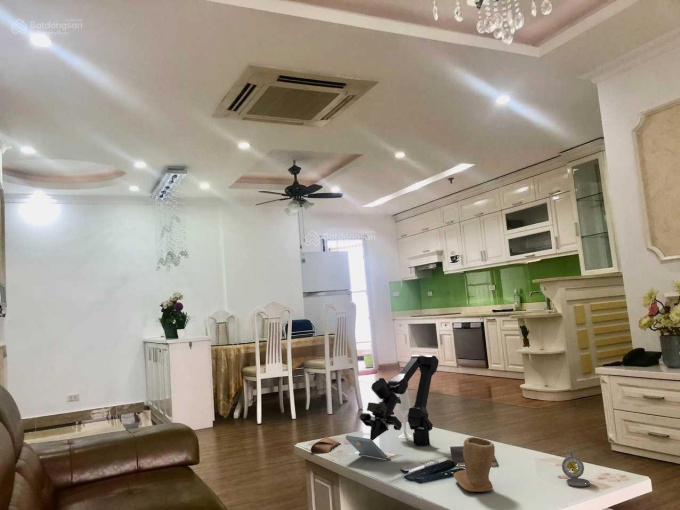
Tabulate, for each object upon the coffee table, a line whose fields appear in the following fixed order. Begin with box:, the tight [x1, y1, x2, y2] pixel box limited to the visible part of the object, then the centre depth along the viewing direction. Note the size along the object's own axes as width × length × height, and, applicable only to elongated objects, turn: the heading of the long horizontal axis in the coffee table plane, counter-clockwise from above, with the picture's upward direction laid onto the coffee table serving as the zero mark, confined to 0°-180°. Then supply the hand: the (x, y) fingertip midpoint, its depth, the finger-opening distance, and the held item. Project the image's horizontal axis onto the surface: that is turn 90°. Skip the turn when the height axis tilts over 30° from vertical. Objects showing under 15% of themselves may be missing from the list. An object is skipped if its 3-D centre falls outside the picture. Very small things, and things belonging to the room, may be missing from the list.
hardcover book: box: [449, 445, 499, 467], centre depth 197 cm, size 16×23×2 cm
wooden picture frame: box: [358, 451, 403, 462], centre depth 205 cm, size 10×16×2 cm, turn 44°
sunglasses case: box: [310, 435, 342, 454], centre depth 227 cm, size 18×7×7 cm, turn 163°
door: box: [345, 434, 387, 460], centre depth 199 cm, size 2×13×12 cm
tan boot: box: [453, 436, 496, 493], centre depth 164 cm, size 15×12×15 cm
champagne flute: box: [395, 388, 413, 439], centre depth 241 cm, size 7×7×24 cm
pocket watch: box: [561, 447, 591, 488], centre depth 161 cm, size 8×8×10 cm
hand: (371, 439), depth 202 cm, fingers closed
